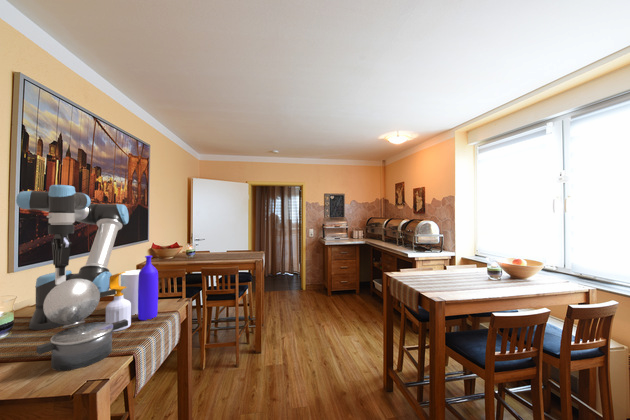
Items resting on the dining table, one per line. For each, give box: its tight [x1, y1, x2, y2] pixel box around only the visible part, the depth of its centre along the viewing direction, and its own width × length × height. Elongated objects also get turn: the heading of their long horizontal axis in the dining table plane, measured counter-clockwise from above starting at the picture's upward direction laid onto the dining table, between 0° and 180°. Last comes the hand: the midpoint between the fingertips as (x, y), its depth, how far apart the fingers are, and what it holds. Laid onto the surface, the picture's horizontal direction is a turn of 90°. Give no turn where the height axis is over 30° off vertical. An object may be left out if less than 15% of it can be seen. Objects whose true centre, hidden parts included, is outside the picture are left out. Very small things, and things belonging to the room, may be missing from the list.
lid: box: [43, 279, 117, 330], centre depth 101 cm, size 17×22×2 cm
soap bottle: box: [105, 271, 132, 333], centre depth 118 cm, size 9×9×25 cm
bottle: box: [137, 255, 159, 321], centre depth 129 cm, size 8×8×30 cm
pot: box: [36, 319, 128, 372], centre depth 94 cm, size 17×25×9 cm, turn 150°
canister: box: [120, 268, 142, 316], centre depth 139 cm, size 14×14×20 cm
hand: (60, 283), depth 105 cm, fingers closed
